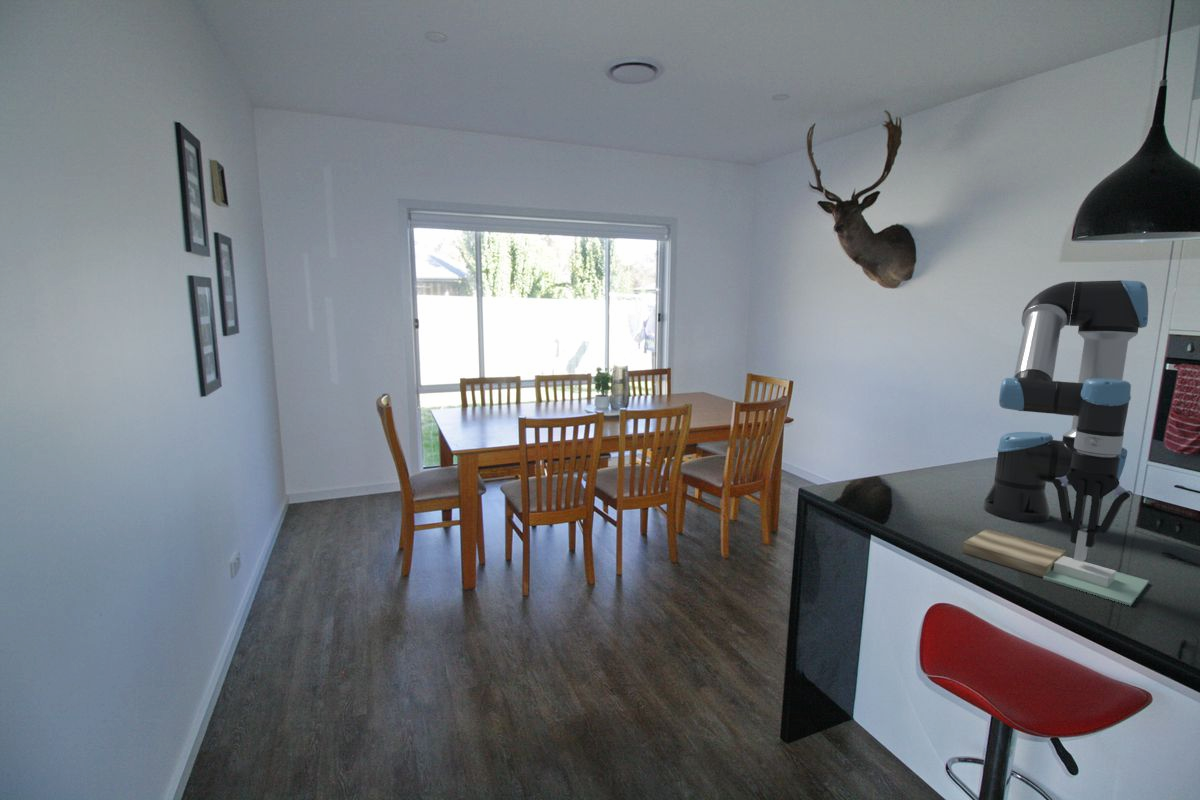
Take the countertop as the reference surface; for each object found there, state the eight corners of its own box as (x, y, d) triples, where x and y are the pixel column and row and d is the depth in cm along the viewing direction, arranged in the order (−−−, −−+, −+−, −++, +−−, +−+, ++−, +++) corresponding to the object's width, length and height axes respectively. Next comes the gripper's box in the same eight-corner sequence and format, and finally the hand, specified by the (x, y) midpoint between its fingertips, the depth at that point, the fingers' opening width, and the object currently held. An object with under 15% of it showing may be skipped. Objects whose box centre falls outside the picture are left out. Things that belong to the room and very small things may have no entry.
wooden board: (985, 538, 143) (986, 529, 143) (1064, 561, 131) (1065, 550, 130) (962, 552, 135) (963, 542, 134) (1044, 577, 122) (1045, 566, 122)
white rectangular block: (1053, 571, 124) (1054, 562, 124) (1062, 564, 128) (1063, 555, 127) (1106, 587, 117) (1108, 578, 117) (1114, 579, 120) (1116, 570, 120)
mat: (1065, 559, 131) (1065, 557, 131) (1148, 583, 120) (1148, 580, 120) (1042, 579, 122) (1043, 576, 122) (1130, 606, 111) (1130, 603, 111)
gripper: (1052, 449, 122) (1037, 552, 126) (1133, 462, 112) (1115, 575, 115) (1062, 444, 126) (1048, 544, 130) (1142, 456, 116) (1124, 565, 120)
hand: (1079, 558), depth 123 cm, fingers closed
